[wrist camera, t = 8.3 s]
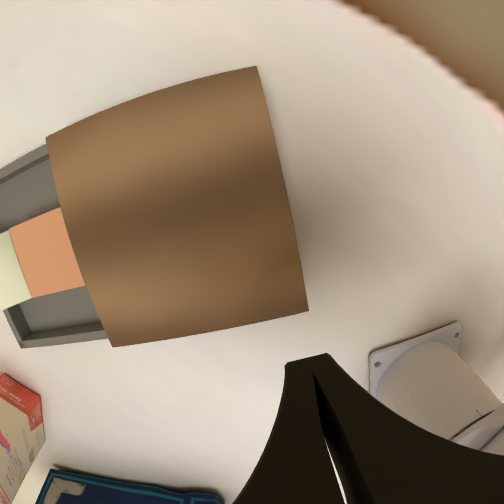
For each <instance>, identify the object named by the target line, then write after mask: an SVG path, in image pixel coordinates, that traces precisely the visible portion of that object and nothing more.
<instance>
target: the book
mask: <svg viewBox="0 0 504 504" xmlns="http://www.w3.org/2000/svg"><path fill="white" fill-rule="evenodd" d="M35 504H224V503H223V502H222V501H221V500H220V499H219V498H218V497H217V495H215V494H212V493H204V492H190V493H183V494H182V493H178V492H174V491H171V490H168V489H164V488H161V487H158V486H152V485H143V484H136V483H129V482H123V481H117V480H111V479H106V478H101V477H94V476H87V475H81V474H75V473H70V472H65V471H60V470H55V469H50V471H49V473H48V475H47V478H46V480H45V482H44V484H43V487H42V489H41V491H40V494H39V496H38V498H37V501H36V503H35Z"/></svg>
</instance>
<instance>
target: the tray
mask: <svg viewBox="0 0 504 504" xmlns="http://www.w3.org/2000/svg"><path fill="white" fill-rule="evenodd" d="M59 207H61V206H60V202H59V198H58V194H57V190H56V186H55V182H54V178H53V173H52V169H51V164H50V159H49V154H48V149H47V144H45V145H43V146H41V147H39V148H37V149H35V150H33V151H31V152H30V153H28V154H26V155H24V156H22V157H21V158H19V159H17V160H15V161H14V162H12V163H10V164H9V165H7V166H5V167H4V168H2V169H0V234H1V233H3V232H6V231H8V230H9V229H10V228H12V227H14V226H16V225H19V224H21V223H23V222H25V221H28V220H30V219H32V218H35V217H37V216H40V215H42V214H44V213H47V212H49V211H52V210H54V209H57V208H59ZM3 312H4V314H5V316H6V318H7V321H8V323H9V325H10V327H11V329H12V331H13V333H14V335H15V337H16V339H17V341H18V343H19V345H20V347H21V349H22V348H32V347H42V346H52V345H61V344H69V343H77V342H85V341H93V340H100V339H107V338H108V336H107V334H106V332H105V330H104V328H103V325H102V323H101V321H100V318H99V316H98V314H97V311H96V309H95V306H94V304H93V302H92V299H91V297H90V294H89V291H88V289H87V286H86V285H85V286H81V287H77V288H72V289H68V290H64V291H60V292H55V293H51V294H47V295H43V296H38V297H34V298H31V299H28V300H26V301H23V302H21V303H18V304H16V305H14V306H11V307H9V308H6V309H4V310H3Z"/></svg>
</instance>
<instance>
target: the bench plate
mask: <svg viewBox="0 0 504 504" xmlns="http://www.w3.org/2000/svg"><path fill="white" fill-rule="evenodd" d="M46 143H47V149H48V154H49V159H50V164H51V169H52V173H53V178H54V182H55V186H56V190H57V194H58V198H59V202H60V206H61V210H62V213H63V217H64V220H65V224H66V227H67V231H68V234H69V237H70V240H71V244H72V247H73V250H74V253H75V256H76V259H77V262H78V264H79V267H80V270H81V273H82V276H83V278H84V281H85V284H86V286H87V289H88V291H89V294H90V297H91V299H92V302H93V304H94V306H95V309H96V311H97V314H98V316H99V318H100V321H101V323H102V325H103V328H104V330H105V332H106V334H107V336H108V339H109V341H110V343H111V345H112V347H119V346H127V345H134V344H141V343H148V342H154V341H161V340H167V339H173V338H179V337H185V336H191V335H196V334H202V333H207V332H213V331H218V330H223V329H228V328H234V327H239V326H243V325H248V324H253V323H258V322H263V321H267V320H272V319H276V318H281V317H285V316H289V315H294V314H298V313H302V312H306V311H309V308H308V302H307V296H306V291H305V285H304V279H303V274H302V268H301V263H300V258H299V252H298V247H297V242H296V237H295V232H294V227H293V222H292V217H291V212H290V207H289V202H288V197H287V192H286V188H285V183H284V178H283V174H282V169H281V165H280V160H279V156H278V151H277V147H276V143H275V138H274V134H273V130H272V126H271V121H270V117H269V113H268V109H267V105H266V101H265V97H264V93H263V89H262V85H261V81H260V77H259V73H258V69H257V66H253V67H248V68H242V69H238V70H233V71H228V72H224V73H220V74H215V75H211V76H207V77H203V78H199V79H196V80H192V81H188V82H185V83H181V84H178V85H175V86H171V87H168V88H165V89H162V90H158V91H155V92H152V93H149V94H146V95H144V96H141V97H138V98H135V99H132V100H130V101H127V102H124V103H122V104H119V105H116V106H114V107H111V108H109V109H106V110H104V111H101V112H99V113H97V114H94V115H92V116H90V117H87V118H85V119H83V120H81V121H78V122H76V123H74V124H72V125H70V126H68V127H66V128H64V129H61V130H59V131H57V132H55V133H53V134H51V135H49V136H47V137H46Z"/></svg>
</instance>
